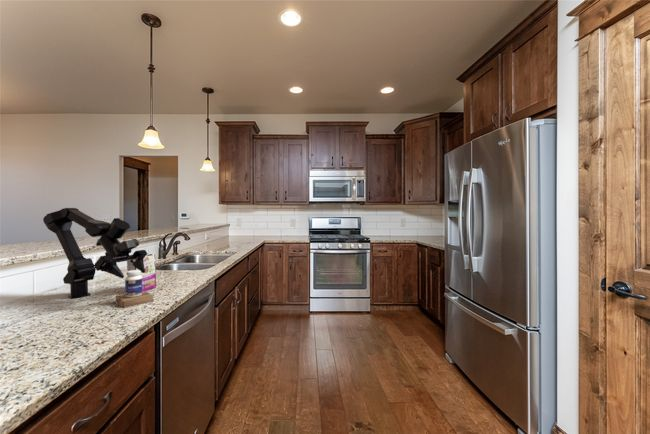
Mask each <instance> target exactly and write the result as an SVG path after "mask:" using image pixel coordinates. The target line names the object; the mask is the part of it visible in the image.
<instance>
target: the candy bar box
mask: <svg viewBox="0 0 650 434" xmlns="http://www.w3.org/2000/svg"><path fill="white" fill-rule="evenodd" d="M147 253H148V254H147V255H146V256H145V258H144V259H143V263H144V268H145V273H142V272H141V274H140V276H142V291H146V292H148V291H149V289H150V290H152V289H156V287H157V277H156V276H157V272H156V253H149V252H147ZM126 267H127V268H126V269H127V270H126V272H127V271H131V270H138V269H137V268H136V267H135V266H134V265H133V263H131V261H130V260H129V261H126Z"/></svg>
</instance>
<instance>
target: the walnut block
mask: <svg viewBox="0 0 650 434" xmlns="http://www.w3.org/2000/svg"><path fill="white" fill-rule="evenodd" d="M153 301H154V294H151V293H150V292H148V291H142V295H140V296H137V297H126V296H125V294H121V295H116V296H115V303H116V304H117V305H119V306H120V307H122V308H123V309H124V308H129V307H130V308H131V307H134V306H138V305H144V304H146V303H147V304H148V303H152V302H153Z"/></svg>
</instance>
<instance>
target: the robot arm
mask: <svg viewBox="0 0 650 434" xmlns="http://www.w3.org/2000/svg"><path fill="white" fill-rule="evenodd" d="M42 219H43V223H44V224H45V226H46V228H47V229H48V230H49V231H50V232H52V233H54V234H55V235H56V237H57V239H58V241H59V244H60V245H61V248H62V250H63V252H64V254H65V256H66V259H67V260H68V265H67V269H66V270H67V273H66V274H65V276H64V277H63V279H62V280H63V284H64V285H65V284H66V285H69V286H70V287H69V289H70V290H69V292H70V293H69V294H68V295H67V297H68V298H70V299H76V298H82V297H88V296H91V294H92V293H90V292H89V281H90V280H94V279H95V274H96V271H101V272H106V273H107V274H111V275H114V276H115V277H118V278H120V279H123V278H124V277H125V275H124V273H123V271H122V270H121V269H120V268H119V266H118V263H122V262H127V261H129V260H130V261H131V263H133V265H134V266H135V267H136V268H137V269H138V270H140V271H141V272H142V273H145V268H144V263H143V259H144V258H145V256H146V255H147V254H148V253H149V252H147V251H146V250H145V249H139V250H135V251H134V252H133V253H132V250H134V249H136V248H137V247H138V246H139V245H140V242H139V240H138V239H137V238H132V239H131V240H130V239H129V240H127V239H126V240H124V241H122V242H121V241H120V240H119V239H122V238H123V237H124V236H125V234H126V233H127V232H128V231H129V229H130V228H131V225H130V223H128V222H127V221H125V220H122V219H121V218H119V217H116V218H115V217H114V218H113V220H112V221H111V223H110V222H108V221H104V220H99V219H95V218H94V217H91V216H90V215H88V214H86V213H84V212H82V211H80V210H79V209H78V208H76V207H64V208H61V209H60V210H57V211H53V212H50V213H47V214H45V216H44V217H43V218H42ZM73 223H75V224H77V225H79V226H80V227H82V228H84V230H85V231H84V232H86V233H87V234H88V235H89V236H90V237H92V238H96V237H99V239H97V241H96V243H95V244H96V247H99V246H101V247H102V248H103V249H104V251H105V253H104V255H100V256H99V258H98V259H97V260H96V262H95V263H94V261H93V259H91V258H90V257H89V258H86V257H84V255H83V253H82V250H81V249H80V247H79V244H78V242H77V240H76V238H75V236H74V234H73V231H72V230H71V229H72V226H73ZM131 253H132V254H131Z"/></svg>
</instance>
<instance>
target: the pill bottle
mask: <svg viewBox="0 0 650 434" xmlns="http://www.w3.org/2000/svg"><path fill="white" fill-rule="evenodd" d="M140 274H141V271H140V270H131V271H127V270H126V277H125V281H124V282H125V283H124V284H125V285H124V289H125V290H124V291H125V292H124V293H125V294H124V295H125V296H126V297H137V296H140V295H142V276H140Z"/></svg>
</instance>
